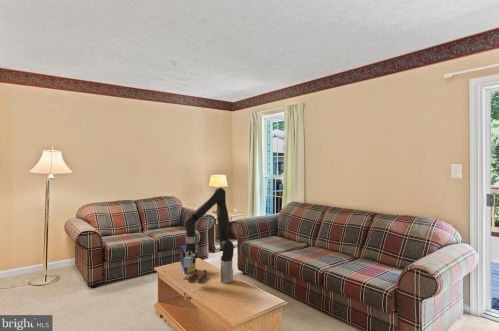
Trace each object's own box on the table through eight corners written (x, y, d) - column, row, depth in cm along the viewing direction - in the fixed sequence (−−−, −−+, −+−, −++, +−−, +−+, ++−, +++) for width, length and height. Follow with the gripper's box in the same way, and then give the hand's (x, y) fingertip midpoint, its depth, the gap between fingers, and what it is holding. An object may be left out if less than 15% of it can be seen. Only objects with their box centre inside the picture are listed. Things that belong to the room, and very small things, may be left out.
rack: (206, 276, 253) (206, 269, 253) (199, 283, 239) (199, 275, 239) (195, 275, 255) (195, 268, 255) (188, 282, 241) (188, 274, 241)
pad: (198, 276, 254) (198, 275, 254) (193, 280, 245) (193, 279, 245) (188, 275, 256) (188, 274, 256) (183, 279, 247) (183, 278, 247)
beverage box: (195, 270, 267) (195, 245, 268) (184, 273, 260) (184, 248, 260) (191, 268, 273) (191, 244, 273) (180, 271, 265) (180, 246, 265)
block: (194, 264, 241) (194, 255, 241) (189, 267, 233) (189, 258, 233) (188, 263, 242) (188, 255, 242) (183, 267, 234) (183, 258, 234)
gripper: (180, 242, 238) (180, 264, 238) (197, 243, 235) (197, 265, 235) (184, 240, 245) (184, 261, 245) (200, 241, 243) (200, 262, 242)
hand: (190, 263), depth 240 cm, fingers closed on block, 5 cm apart
